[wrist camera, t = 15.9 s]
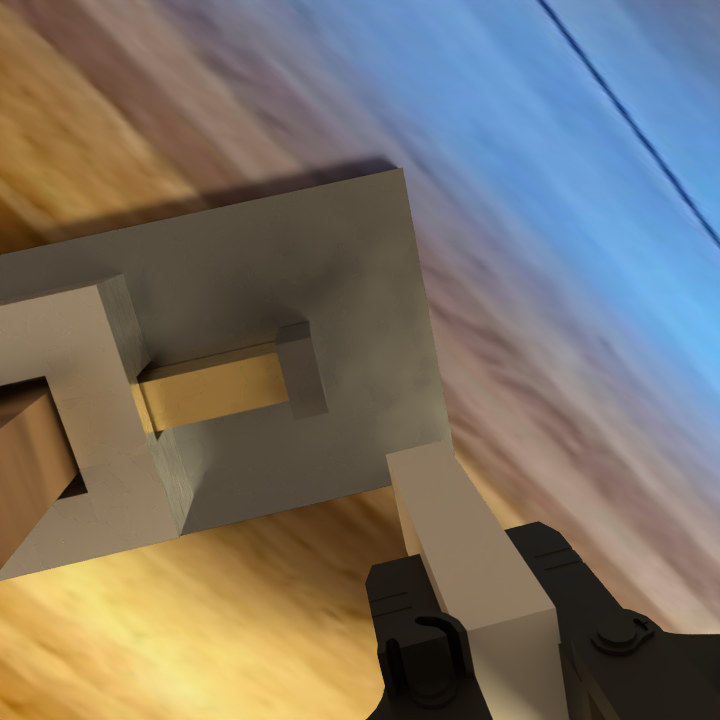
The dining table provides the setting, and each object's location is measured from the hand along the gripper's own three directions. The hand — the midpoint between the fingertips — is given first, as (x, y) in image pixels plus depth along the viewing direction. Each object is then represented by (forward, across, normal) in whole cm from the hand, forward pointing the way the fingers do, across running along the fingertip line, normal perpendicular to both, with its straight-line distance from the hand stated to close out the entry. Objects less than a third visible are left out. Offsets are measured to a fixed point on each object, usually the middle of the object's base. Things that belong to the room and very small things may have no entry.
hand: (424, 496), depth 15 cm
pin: (+16, -7, 0) cm, 18 cm away
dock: (+17, -10, 0) cm, 20 cm away
